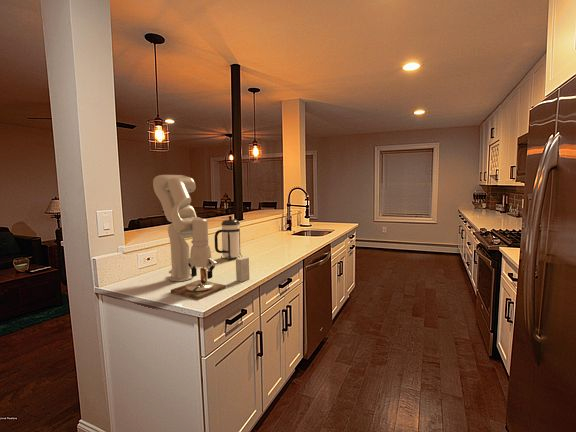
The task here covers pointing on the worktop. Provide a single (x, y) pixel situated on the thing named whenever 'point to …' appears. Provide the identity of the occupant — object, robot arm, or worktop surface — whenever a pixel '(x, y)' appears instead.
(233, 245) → the coffee press
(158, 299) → the worktop surface
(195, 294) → the dial plate
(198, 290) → the dial
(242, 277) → the skincare box
